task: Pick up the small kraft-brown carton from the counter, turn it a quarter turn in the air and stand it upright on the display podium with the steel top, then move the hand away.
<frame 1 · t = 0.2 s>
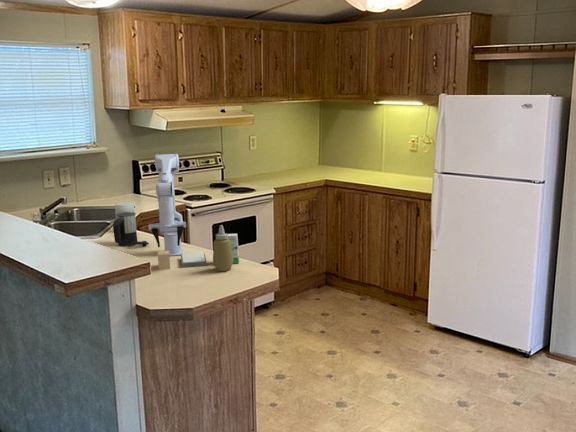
hand: (168, 245, 250), 10 cm above the countertop, tool pointing down, fingers open, 7 cm apart
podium: (193, 262, 262), on the countertop
carton: (164, 267, 256), on the countertop
ink box: (228, 263, 260), on the countertop
squeeze bottle: (223, 270, 249), on the countertop
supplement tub: (126, 231, 325), on the countertop
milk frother: (133, 245, 294), on the countertop
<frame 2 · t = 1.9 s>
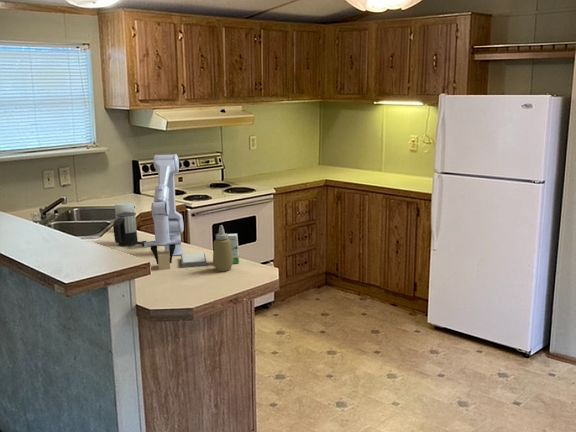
hand: (164, 263, 255), 2 cm above the countertop, tool pointing down, fingers closed on carton, 4 cm apart
carton: (164, 267, 256), on the countertop, touching gripper
everything else where it was.
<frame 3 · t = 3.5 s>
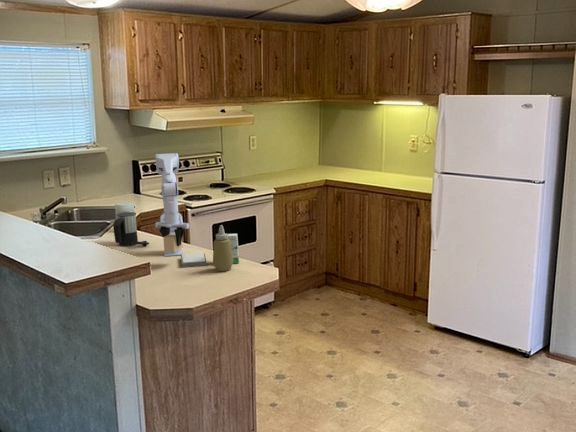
hand: (173, 245, 256), 9 cm above the countertop, tool pointing down, fingers closed on carton, 4 cm apart
carton: (173, 249, 256), point 7 cm above the countertop, touching gripper
everything else where it was.
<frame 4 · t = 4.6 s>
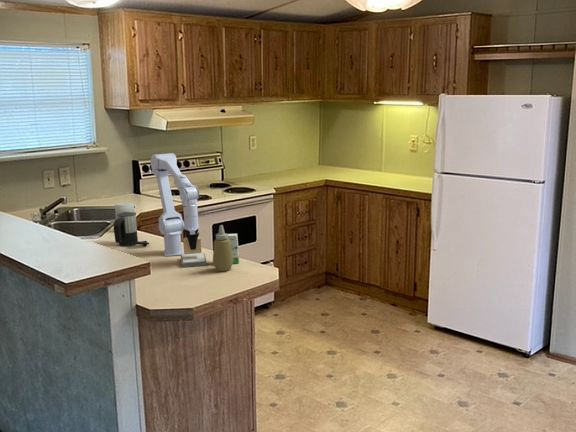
hand: (192, 247, 260), 6 cm above the countertop, tool pointing down, fingers closed on carton, 4 cm apart
carton: (192, 252, 261), point 4 cm above the countertop, touching gripper
everything else where it was.
when the fingers open (5 cm above the countertop, at t = 5.3 s): carton stays where it is, resting on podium.
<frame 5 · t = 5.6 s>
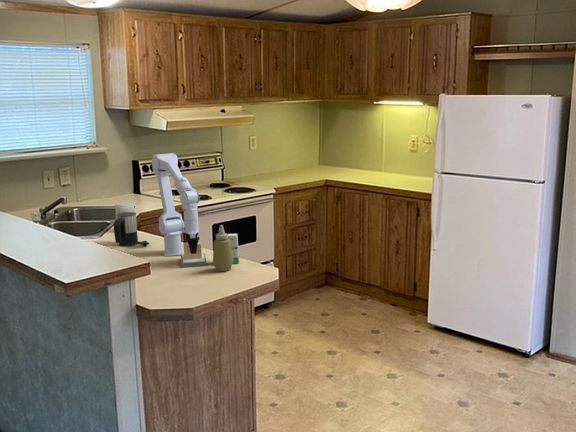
hand: (193, 251, 261), 5 cm above the countertop, tool pointing down, fingers open, 7 cm apart
carton: (193, 257, 261), point 2 cm above the countertop, touching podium
everything else where it was.
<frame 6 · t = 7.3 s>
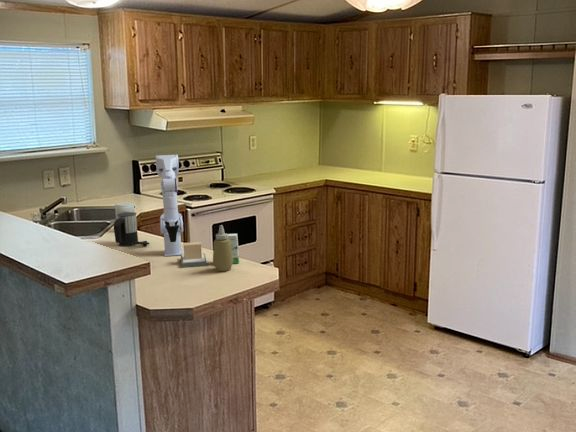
hand: (172, 239, 260), 10 cm above the countertop, tool pointing down, fingers open, 7 cm apart
nothing on the countertop moved.
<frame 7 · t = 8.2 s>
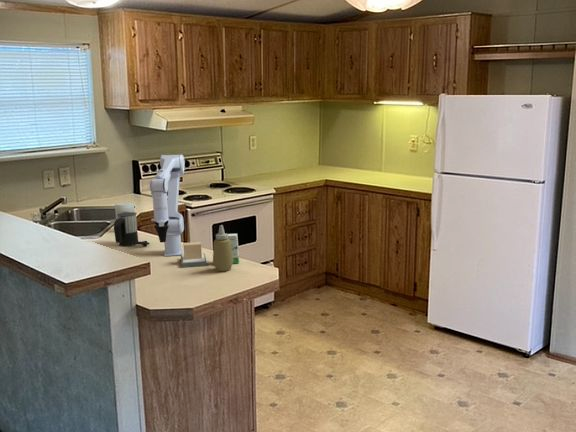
hand: (162, 240, 259), 10 cm above the countertop, tool pointing down, fingers open, 7 cm apart
nothing on the countertop moved.
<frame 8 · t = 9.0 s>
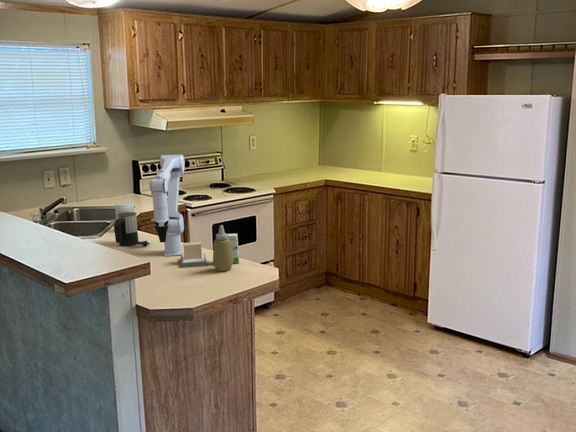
hand: (162, 240, 259), 10 cm above the countertop, tool pointing down, fingers open, 7 cm apart
nothing on the countertop moved.
at the end: carton 0.2 cm off-centre on the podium, point 2.0 cm above the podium's base; carton tilted 0°; the gripper is holding nothing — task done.
